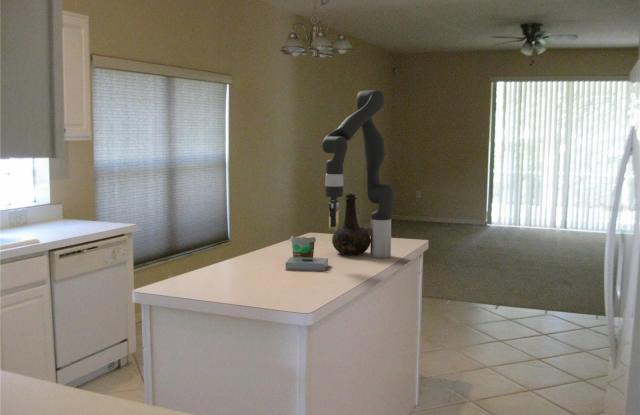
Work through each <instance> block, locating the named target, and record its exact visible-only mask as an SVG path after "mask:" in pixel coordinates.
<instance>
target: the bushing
mask: <svg viewBox="0 0 640 415" xmlns="http://www.w3.org/2000/svg"><path fill="white" fill-rule="evenodd" d="M339 212H340V211H338V212H337V213H336V216H337V217H336V227H331V226H330V222H331V218H330V216H329V215H330V213H329V212H328V231H331V232H336V231H338V230H339V229H340V225H339V223H340V222H339V221H340V219H339V218H340V217H339V216H340V213H339ZM332 214H334V212H332Z"/></svg>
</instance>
